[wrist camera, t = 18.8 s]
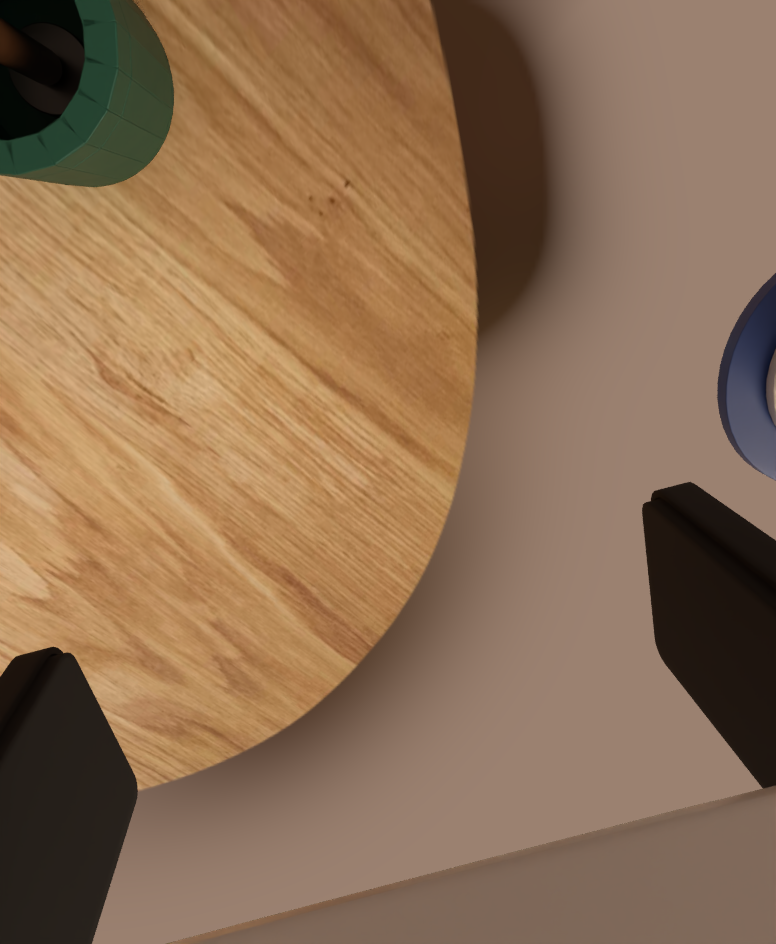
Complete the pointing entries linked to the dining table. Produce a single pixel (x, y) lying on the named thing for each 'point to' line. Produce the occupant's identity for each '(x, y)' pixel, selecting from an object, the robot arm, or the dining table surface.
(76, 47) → the brown pestle
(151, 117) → the jar
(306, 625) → the dining table surface
